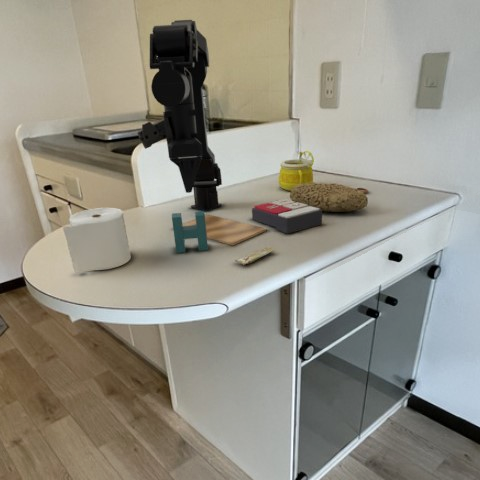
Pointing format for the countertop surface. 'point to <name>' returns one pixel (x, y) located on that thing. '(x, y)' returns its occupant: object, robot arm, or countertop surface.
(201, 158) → the robot arm
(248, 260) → the snack bar
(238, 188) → the countertop surface
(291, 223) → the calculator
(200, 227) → the letter H
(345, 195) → the sponge
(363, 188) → the key
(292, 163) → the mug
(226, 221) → the wooden board
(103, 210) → the toilet tissue
